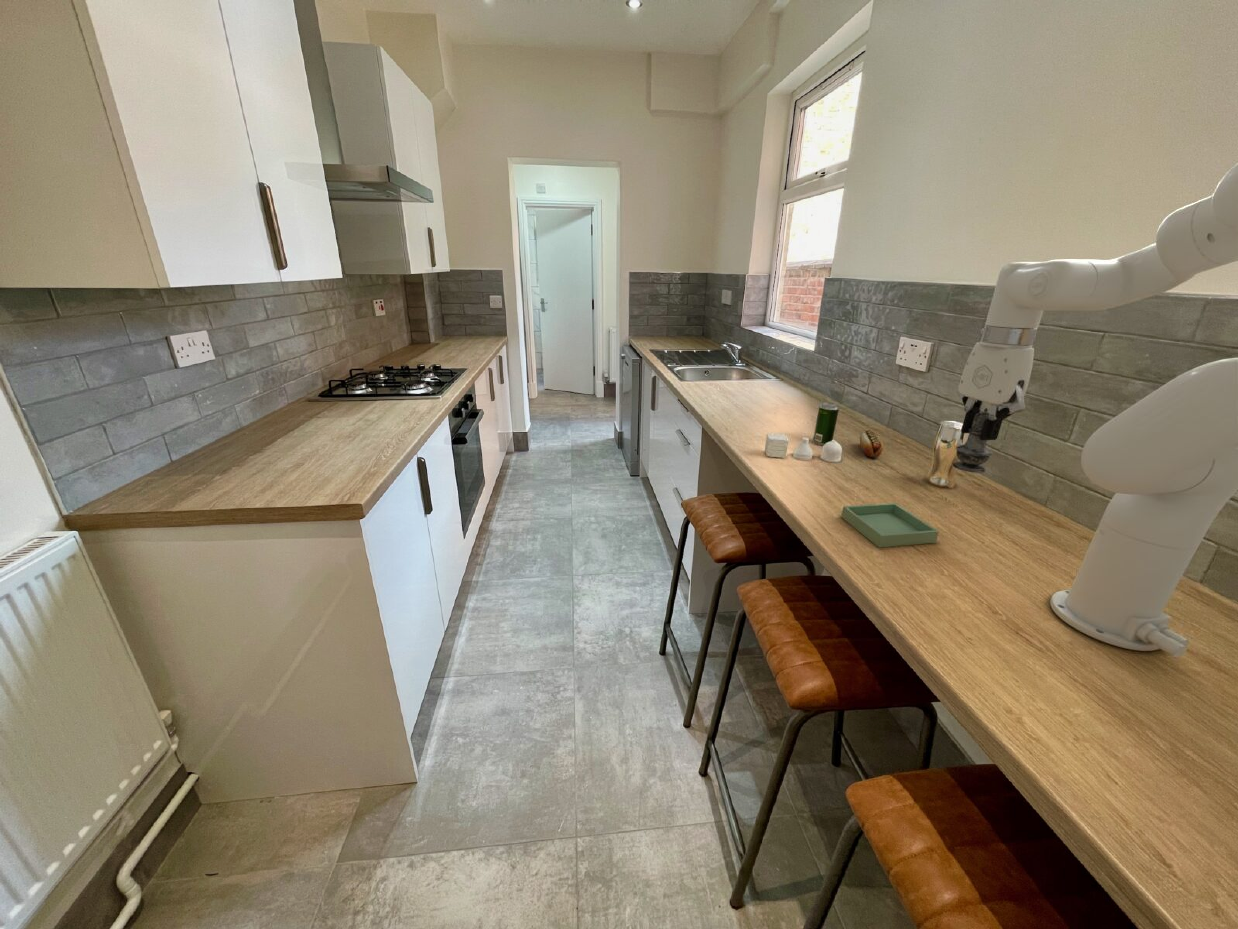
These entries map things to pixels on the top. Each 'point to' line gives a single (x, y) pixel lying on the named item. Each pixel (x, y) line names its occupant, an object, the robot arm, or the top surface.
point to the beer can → (825, 423)
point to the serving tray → (889, 525)
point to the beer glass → (946, 454)
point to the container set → (801, 449)
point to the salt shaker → (974, 447)
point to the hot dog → (871, 443)
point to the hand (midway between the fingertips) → (978, 435)
